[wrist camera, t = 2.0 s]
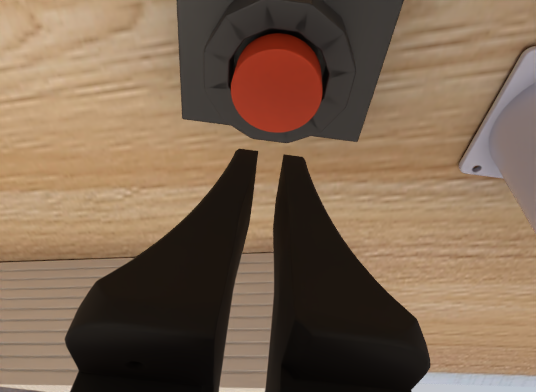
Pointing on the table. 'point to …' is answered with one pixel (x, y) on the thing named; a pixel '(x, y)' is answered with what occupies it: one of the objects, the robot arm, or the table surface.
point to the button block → (296, 24)
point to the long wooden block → (73, 293)
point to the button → (277, 83)
